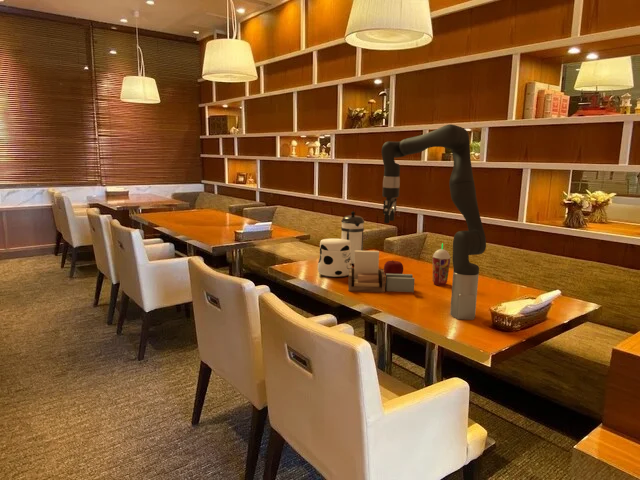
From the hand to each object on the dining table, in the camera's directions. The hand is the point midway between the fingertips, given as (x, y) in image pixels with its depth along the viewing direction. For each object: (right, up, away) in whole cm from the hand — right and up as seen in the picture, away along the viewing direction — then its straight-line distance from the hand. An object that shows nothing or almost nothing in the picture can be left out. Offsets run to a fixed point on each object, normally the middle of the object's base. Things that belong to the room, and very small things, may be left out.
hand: (389, 221), depth 208 cm
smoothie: (+26, -30, +10) cm, 41 cm away
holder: (+4, -32, -3) cm, 32 cm away
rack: (-11, -31, -1) cm, 33 cm away
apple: (+4, -29, +15) cm, 33 cm away
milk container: (-24, -27, +22) cm, 42 cm away
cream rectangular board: (-11, -29, +3) cm, 31 cm away
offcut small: (-10, -27, -4) cm, 29 cm away
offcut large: (-11, -30, -3) cm, 33 cm away
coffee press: (-15, -22, +49) cm, 55 cm away
